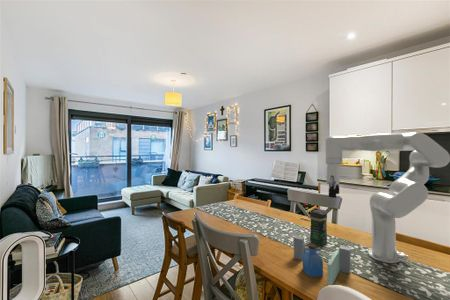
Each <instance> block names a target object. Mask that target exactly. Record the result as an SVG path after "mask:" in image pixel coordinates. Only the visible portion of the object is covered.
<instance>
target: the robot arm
mask: <svg viewBox="0 0 450 300" xmlns="http://www.w3.org/2000/svg"><path fill="white" fill-rule="evenodd" d="M355 151H367V152H368V151H369V152H402V151H405V152H406V151H407V152H408V151H412V152H410V154H409V157H408V159H409V167H408V170H407V171H406V172H405V173H403V174H402V175H401V176H400V177H398V178H397V179H395V180H394V181H392V182H391V183H390V185H389V187H388V191H389V193H390V194H389V193H386V192H381V191H380V192H374V193H373V194H372V195H371V196H370V198H369V208H370V213H371V248H370V249H369V250H368V252H367V253H368V254H367V255H369V257H370V258H371V259H374V260H376V261H379V262H381V263H382V262H383V263H386V264H397V263H400V261H401V259H404V260H409V255H408V254H405V252H399V251H398V250H397V248H396V247H397V242H396V241H397V240H396V239H397V237H396V231H397V230H396V228H397V227H396V226H397V225H396V219H401V218H404V217H405V216H407V215H409V214H411V213H412V212H413V211H414V210H416V209H417V208H419V207H420V206H421V205H422V204H423V203H424V202H425V201H427V198H428V195H429V190H428V188H427V187H426V186H425V184H426V183H427V182H428V180H429V178H430V168H443V167H446V166H447V165H448V164H450V153H449V152H448V150H447V149H445V148H444V147H443V146H442V145H440V144H439V143H438V142H436V141H435V140H434V139H432V138H431V137H430V136H428V135H427V134H424V133H423V132H418V131H416V132H415V131H414V132H404V133H403V132H401V133H377V134H369V135H368V134H367V135H359V136H357V135H347V136H345V135H344V136H327V137H326V138H325V165H327V166H326V182H325V183H326V185H328V198H334V199H336V198H337V195H339V194H340V182H341V165H343V152H355Z"/></svg>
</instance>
